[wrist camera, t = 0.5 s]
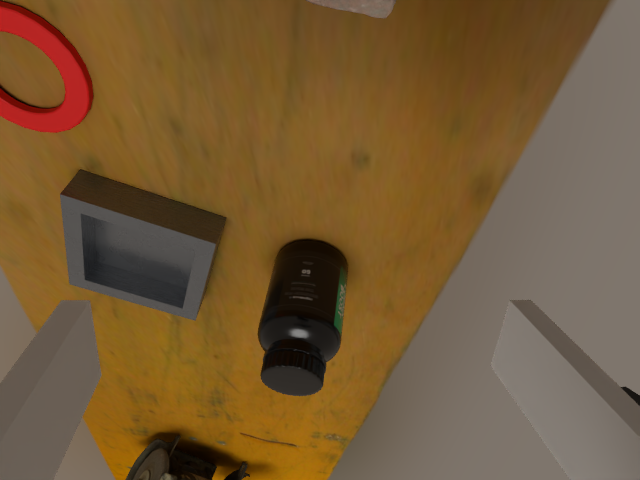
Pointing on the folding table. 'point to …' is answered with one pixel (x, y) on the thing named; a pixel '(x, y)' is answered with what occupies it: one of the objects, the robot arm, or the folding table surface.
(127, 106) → the folding table surface
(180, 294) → the keeper tray
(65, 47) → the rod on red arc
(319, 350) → the supplement bottle
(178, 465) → the bench grinder
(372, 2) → the brick
